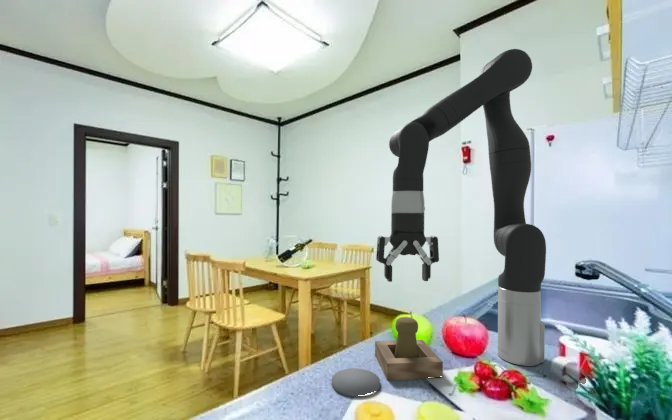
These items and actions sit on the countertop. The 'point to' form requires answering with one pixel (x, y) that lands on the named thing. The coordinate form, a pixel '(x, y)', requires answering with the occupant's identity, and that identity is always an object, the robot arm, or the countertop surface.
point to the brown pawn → (406, 338)
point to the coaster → (355, 382)
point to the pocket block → (408, 362)
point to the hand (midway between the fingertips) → (407, 280)
